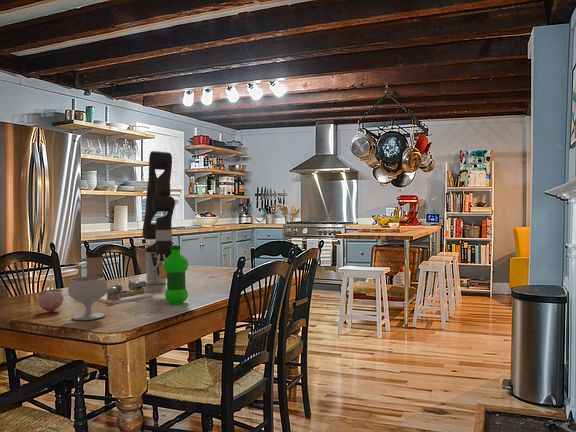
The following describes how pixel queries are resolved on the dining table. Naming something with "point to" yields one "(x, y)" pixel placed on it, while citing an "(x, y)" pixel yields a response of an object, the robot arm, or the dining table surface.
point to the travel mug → (94, 263)
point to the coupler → (162, 272)
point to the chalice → (87, 294)
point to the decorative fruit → (50, 299)
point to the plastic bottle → (176, 276)
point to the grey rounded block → (114, 293)
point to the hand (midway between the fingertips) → (164, 275)
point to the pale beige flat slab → (126, 297)
